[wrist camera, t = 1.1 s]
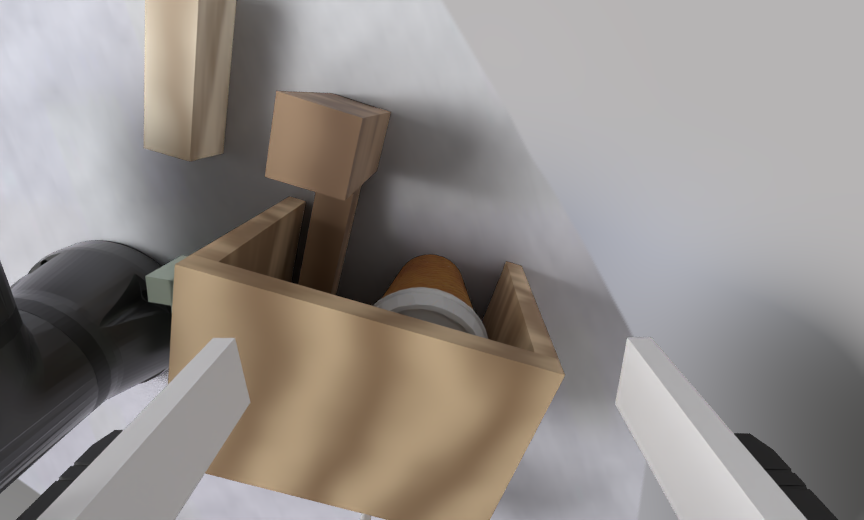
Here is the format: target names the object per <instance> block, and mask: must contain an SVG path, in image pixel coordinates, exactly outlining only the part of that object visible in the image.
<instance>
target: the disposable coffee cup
mask: <svg viewBox="0 0 864 520" xmlns="http://www.w3.org/2000/svg"><path fill="white" fill-rule="evenodd" d="M373 306H374V307H378V308H381V309H385V310H388V311H392V312H395V313H399V314H402V315H406V316H409V317H413V318H416V319H420V320H423V321H427V322H430V323H434V324H437V325H441V326H444V327H448V328H451V329H455V330H458V331H462V332H465V333H469V334H472V335H476V336H479V337H483V338H486V339H488V336H487V333H486V329H485V327H484V325H483V323H482V321H481V319H480V318H479V317H478V316H477V314H476V313H475V312H474V310H473V307H472V305H471V302H470V299H469V296H468V293H467V290H466V287H465V285H464V282H463V279H462V276H461V273H460V271H459V269H458V268H457V267H456V266H455V264H453V263H452V262H451V261H450V260H448V259H446V258H444V257H441V256H438V255H432V254H429V255H421V256H418V257H415V258H413V259H411V260H410V261H409V262H407V263H406V264H405V265H404V266H403V268H402V269H401V271H400V272H399V274H398V275H397V277H396V278H395V279H394V281H393V282H392V284H391V285H390V287H389V288H388V290H387V291H386V293H385V294H384V296H383V297H382V298H381V299H380V300H379V301H377V302H376V303H375V304H374V305H373Z"/></svg>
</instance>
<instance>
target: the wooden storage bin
mask: <svg viewBox="0 0 864 520" xmlns="http://www.w3.org/2000/svg"><path fill="white" fill-rule="evenodd" d="M305 203H306V201H303V200H300V199H297V198H293V197H290V196H289V197H288V198H286V199H284V200H283V201H281V202H279V203H277V204H276V205H274V206H272V207H271V208H269V209H267V210H266V211H264V212H262V213H261V214H259V215H257V216H256V217H254V218H252V219H250V220H249V221H247V222H245V223H244V224H242V225H240V226H239V227H237V228H235V229H234V230H232V231H230V232H229V233H227V234H225V235H223V236H222V237H220V238H218V239H217V240H215V241H213V242H212V243H210V244H208V245H207V246H205V247H203V248H202V249H200V250H198V251H196V252H195V253H193V254H191V255H190V256H188V257H186V258H185V259H183V260H181V261H180V262H178V263H176V264H175V269H174V287H173V305H172V322H171V340H170V358H169V376H168V384H169V383H170V382H171V381H172V380H173V379H174V378H175V377H176V376H177V375H178V374H179V372H180V371H181V370H182V369H183V368H184V367H185V366H186V365H187V364H188V363H189V362H190V361H191V360H192V359H193V358H194V357H195V356H196V355H197V354H198V353H199V352H200V351H201V350H202V349H203V348H204V347H205V346H206V345H207V344H208V343H209V342H210V341H211V340H212V339H213V338H235V340H236V344H237V348H238V352H239V357H240V361H241V365H242V369H243V373H244V378H245V382H246V386H247V390H248V394H249V399H250V404H249V405H248V407H247V409H246V410H245V412H244V413H243V415H242V416H241V418H240V419H239V421H238V423H237V424H236V426H235V427H234V429H233V430H232V432H231V433H230V435H229V436H228V438H227V440H226V441H225V443H224V444H223V446H222V447H221V449H220V450H219V452H218V454H217V455H216V457H215V458H214V460H213V461H212V463H211V464H210V466H209V468H208V469H207V471H206V472H205V473H206V474H210V475H214V476H218V477H222V478H225V479H229V480H233V481H237V482H241V483H245V484H249V485H253V486H257V487H261V488H265V489H269V490H273V491H277V492H280V493H284V494H288V495H292V496H296V497H300V498H304V499H308V500H312V501H316V502H320V503H324V504H328V505H331V506H335V507H339V508H343V509H347V510H351V511H355V512H359V513H363V514H367V515H371V516H375V517H379V518H382V519H386V520H490V518H491V516H492V514H493V512H494V511H495V509H496V507H497V505H498V503H499V501H500V499H501V497H502V495H503V493H504V491H505V489H506V487H507V486H508V484H509V482H510V480H511V478H512V476H513V474H514V472H515V470H516V468H517V466H518V464H519V463H520V461H521V459H522V457H523V455H524V453H525V451H526V449H527V447H528V445H529V443H530V441H531V440H532V438H533V436H534V434H535V432H536V430H537V428H538V426H539V424H540V422H541V420H542V418H543V417H544V415H545V413H546V411H547V409H548V407H549V405H550V403H551V401H552V399H553V397H554V395H555V394H556V392H557V390H558V388H559V386H560V384H561V382H562V380H563V378H564V376H565V374H564V371H563V369H562V366H561V364H560V361H559V359H558V356H557V354H556V351H555V349H554V346H553V344H552V341H551V339H550V336H549V334H548V331H547V329H546V326H545V324H544V321H543V319H542V316H541V314H540V311H539V309H538V306H537V304H536V301H535V299H534V296H533V294H532V291H531V288H530V286H529V283H528V281H527V278H526V276H525V273H524V271H523V268H522V266H521V265H517V264H514V263H511V262H507V261H506V263H505V265H504V268H503V270H502V273H501V275H500V278H499V280H498V283H497V285H496V288H495V290H494V293H493V295H492V298H491V300H490V303H489V305H488V308H487V310H486V313H485V315H484V318H483V321H482V323H483V325H484V327H485V329H486V333H487V336H488V339H486V338H483V337H479V336H476V335H472V334H469V333H465V332H462V331H458V330H455V329H451V328H448V327H444V326H441V325H437V324H434V323H430V322H427V321H423V320H420V319H416V318H413V317H409V316H406V315H402V314H399V313H395V312H392V311H388V310H385V309H381V308H378V307H374V306H371V305H367V304H364V303H360V302H357V301H354V300H350V299H347V298H343V297H340V296H336V295H333V294H329V293H326V292H322V291H319V290H315V289H312V288H308V287H305V286H301V285H298V284H294V283H291V281H292V275H293V270H294V264H295V259H296V253H297V248H298V242H299V237H300V231H301V225H302V220H303V214H304V209H305Z"/></svg>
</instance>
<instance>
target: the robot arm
mask: <svg viewBox="0 0 864 520" xmlns="http://www.w3.org/2000/svg"><path fill="white" fill-rule="evenodd" d="M160 267H161V266H160V265H159V264H157V263H156V262H155V261H154V260H152V259H151V258H149V257H147V256H146V255H144V254H142V253H141V252H139V251H137V250H134V249H132V248H130V247H127V246H124V245H121V244H117V243H113V242H108V241H85V242H80V243H76V244H74V245H71V246H68V247H66V248H63V249H61V250H58V251H56V252H53V253H51V254H49V255H47V256H46V257H44V258H43V259H41V260H40V261H39V262H38V263H37V264H36V265H35V266H34V267H33V268H32V269H31V270H30V271H29V273H28V274H27V275H25V276H24V277H22V278H21V279H20V280H18V281H17V282H16V283H15V284H13V285H12V286H11V287H10V286H9V283H8V280H7V278H6V275H5V272H4V270H3V267H2V264H1V261H0V493H1V492H2V491H3V490H5V489H6V488H7V487H8V486H9V485H10V484H11V483H13V482H14V481H15V480H16V479H17V478H18V477H19V476H20V475H22V474H23V473H24V472H25V471H26V470H27V469H28V468H29V467H31V466H32V465H33V464H34V463H35V462H36V461H37V460H38V459H40V458H41V457H42V456H43V455H44V454H45V453H46V452H47V451H49V450H50V449H51V448H52V447H53V446H54V445H55V444H56V443H58V442H59V441H60V440H61V439H62V438H63V437H64V436H65V435H66V434H68V433H69V432H70V431H71V430H72V429H73V428H74V427H75V426H77V425H78V424H79V423H80V422H81V421H82V420H83V419H84V418H86V417H87V416H88V415H89V414H90V413H91V412H92V411H94V410H95V409H96V408H97V407H98V406H99V405H101V404H102V403H103V402H104V401H105V400H107V399H109V398H111V397H113V396H115V395H117V394H119V393H121V392H123V391H125V390H127V389H129V388H131V387H133V386H135V385H137V384H140V383H144V382H147V381H149V380H152V379H154V378H156V377H158V376H159V375H161V374H163V373H164V372H165V371H167V370H168V369H169V358H170V340H171V322H172V310H171V306H170V305H165V304H159V303H153V302H148V295H147V286H146V278H145V276H146V275H148V274H150V273H152V272H153V271H155V270H157V269H159V268H160ZM249 404H250V399H249V394H248V390H247V386H246V382H245V378H244V373H243V369H242V365H241V361H240V357H239V352H238V348H237V344H236V340H235V338H213V339H212V340H211V341H210V342H209V343H208V344H207V345H206V346H205V347H204V348H203V349H202V350H201V351H200V352H199V353H198V354H197V355H196V356H195V357H194V358H193V359H192V360H191V361H190V362H189V363H188V364H187V365H186V366H185V367H184V368H183V369H182V370H181V371H180V372H179V374H178V375H177V376H176V377H175V378H174V379H173V380H172V381H171V382H170V383H169V384H168V385H167V386H166V387H165V388H164V389H163V390H162V391H161V392H160V393H159V394H158V395H157V396H156V397H155V398H154V399H153V400H152V401H151V402H150V403H149V404H148V405H147V406H146V407H145V408H144V409H143V411H142V412H141V413H140V414H139V415H138V416H137V417H136V418H135V419H134V420H133V421H132V422H131V423H130V424H129V425H128V426H127V427H126V428H125V429H124V430H114V431H113V432H111V433H110V434H108V435H107V436H105V437H104V438H102V439H101V440H99V441H98V442H96V443H95V444H93V445H92V446H91V447H90V448H89V449H88V450H87V451H86V452H85V453H84V454H83V455H82V456H81V457H80V458H79V459H78V460H77V461H76V462H74V466H70V467H69V468H68V469H67V470H66V471H65V472H64V473H63V474H62V475H61V476H60V477H59V480H58V481H55V482H54V483H53V484H52V485H51V486H50V487H49V488H48V489H47V490H46V491H45V492H44V493H43V494H42V495H41V496H40V497H39V498H38V499H37V500H36V501H35V502H34V503H33V504H32V505H31V506H30V507H29V508H28V509H27V510H26V511H25V512H24V513H22V514H21V515H20V517H18V518H17V519H16V520H175V519H176V517H177V516H178V514H179V513H180V511H181V509H182V508H183V506H184V505H185V503H186V502H187V500H188V499H189V497H190V496H191V494H192V492H193V491H194V489H195V488H196V486H197V485H198V483H199V482H200V480H201V478H202V477H203V475H204V474H205V472H206V471H207V469H208V468H209V466H210V464H211V463H212V461H213V460H214V458H215V457H216V455H217V454H218V452H219V450H220V449H221V447H222V446H223V444H224V443H225V441H226V440H227V438H228V436H229V435H230V433H231V432H232V430H233V429H234V427H235V426H236V424H237V423H238V421H239V419H240V418H241V416H242V415H243V413H244V412H245V410H246V409H247V407H248V405H249ZM615 405H616V407H617V408H618V410H619V412H620V414H621V416H622V418H623V419H624V421H625V423H626V425H627V427H628V428H629V430H630V432H631V434H632V436H633V438H634V439H635V441H636V443H637V445H638V447H639V448H640V450H641V452H642V454H643V456H644V458H645V459H646V461H647V463H648V465H649V467H650V468H651V470H652V472H653V474H654V476H655V478H656V479H657V481H658V483H659V485H660V487H661V488H662V490H663V492H664V494H665V496H666V497H667V499H668V501H669V503H670V505H671V506H672V508H673V510H674V512H675V514H676V515H677V517H678V519H679V520H838V519H837V518H836V517H835V516H834V515H833V514H832V513H831V512H830V511H829V509H828V508H827V507H826V506H825V505H824V504H823V503H822V502H821V501H820V500H819V499H818V498H817V496H816V495H814V493H813V492H812V491H811V490H810V489H807V488H806V485H805V484H804V482H803V481H802V480H801V479H800V478H799V477H798V476H797V475H796V474H795V473H792V472H791V468H790V467H788V465H787V464H786V463H785V462H784V461H783V460H782V459H781V458H780V457H779V456H778V454H777V453H776V452H775V451H774V450H773V449H771V448H770V447H768V446H767V445H766V444H764V443H762V442H761V441H760V440H758V439H757V438H755V437H754V436H753V435H751V434H741V433H740V434H739V433H733V432H732V431H731V430H730V429H729V428H728V427H727V425H726V424H725V423H724V422H723V421H722V420H721V418H720V417H719V416H718V415H717V414H716V413H715V411H714V410H713V409H712V408H711V407H710V406H709V404H708V403H707V402H706V401H705V400H704V399H703V397H702V396H701V395H700V394H699V393H698V392H697V390H696V389H695V388H694V387H693V386H692V384H690V382H689V381H688V380H687V379H686V377H685V376H684V375H683V374H682V373H681V372H680V370H679V369H678V368H677V367H676V366H675V365H674V363H673V362H672V361H671V360H670V359H669V358H668V356H667V355H666V354H665V353H664V352H663V350H662V349H661V348H660V347H659V346H658V345H657V344H656V342H655V341H654V340H653V339H652V338H651V337H627V341H626V347H625V352H624V358H623V363H622V369H621V374H620V380H619V385H618V391H617V396H616V402H615Z"/></svg>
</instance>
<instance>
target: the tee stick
mask: <svg viewBox="0 0 864 520" xmlns="http://www.w3.org/2000/svg"><path fill="white" fill-rule="evenodd" d="M186 257H188V256H184V255H181V256H179V257H178V258H176V259H174V260H172V261H171V262H169V263H167V264H165V265H164V266H162V267H160V268H159V269H157V270H155V271H153V272H152V273H150V274H148V275H146V276H145V278H146V286H147V295H148V302H153V303H159V304H165V305H170V306H171V310H172V305H173V287H174V269H175V264H176V263H178V262H180V261H181V260H183V259H185V258H186Z"/></svg>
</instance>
